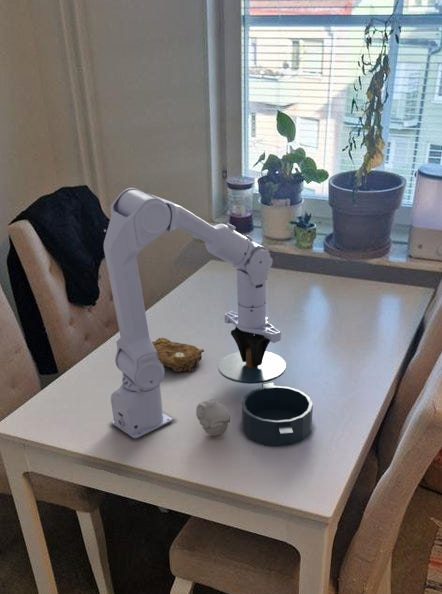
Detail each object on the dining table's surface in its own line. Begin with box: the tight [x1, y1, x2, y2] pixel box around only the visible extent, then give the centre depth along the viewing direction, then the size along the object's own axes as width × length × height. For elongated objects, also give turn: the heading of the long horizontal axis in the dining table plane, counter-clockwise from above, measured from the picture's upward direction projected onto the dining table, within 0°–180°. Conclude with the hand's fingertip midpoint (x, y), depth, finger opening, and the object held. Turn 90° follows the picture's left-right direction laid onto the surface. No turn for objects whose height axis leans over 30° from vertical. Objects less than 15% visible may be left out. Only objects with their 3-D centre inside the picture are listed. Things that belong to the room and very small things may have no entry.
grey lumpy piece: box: [195, 397, 232, 437], centre depth 129 cm, size 6×7×7 cm
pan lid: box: [217, 348, 287, 385], centre depth 142 cm, size 14×14×5 cm
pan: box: [240, 382, 314, 448], centre depth 130 cm, size 13×19×6 cm
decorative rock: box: [151, 337, 205, 373], centre depth 156 cm, size 11×4×15 cm
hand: (252, 362), depth 142 cm, fingers closed on pan lid, 2 cm apart
